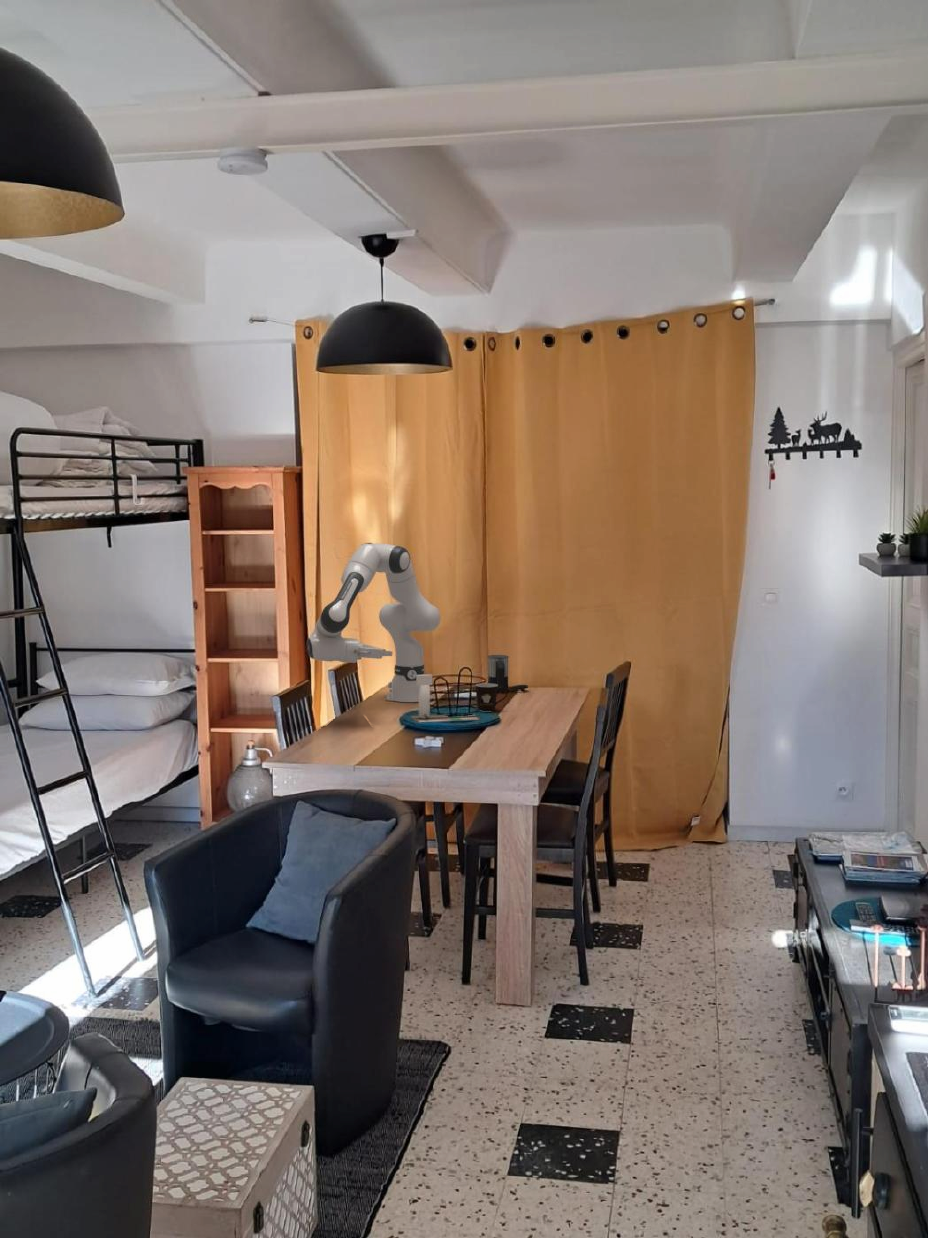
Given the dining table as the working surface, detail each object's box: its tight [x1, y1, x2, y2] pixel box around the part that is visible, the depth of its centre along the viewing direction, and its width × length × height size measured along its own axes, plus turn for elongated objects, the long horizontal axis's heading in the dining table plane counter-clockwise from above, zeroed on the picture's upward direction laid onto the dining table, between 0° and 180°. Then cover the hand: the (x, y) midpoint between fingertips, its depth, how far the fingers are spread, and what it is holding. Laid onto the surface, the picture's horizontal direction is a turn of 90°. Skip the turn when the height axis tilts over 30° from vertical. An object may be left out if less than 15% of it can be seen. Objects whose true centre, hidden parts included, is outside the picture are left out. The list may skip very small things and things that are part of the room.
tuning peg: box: [416, 674, 433, 718], centre depth 436 cm, size 8×6×16 cm
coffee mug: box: [475, 682, 508, 713], centre depth 461 cm, size 12×9×10 cm
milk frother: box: [487, 654, 529, 693], centre depth 507 cm, size 14×16×15 cm
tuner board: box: [410, 713, 482, 723], centre depth 440 cm, size 12×24×2 cm, turn 103°
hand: (388, 652), depth 439 cm, fingers open, 8 cm apart
